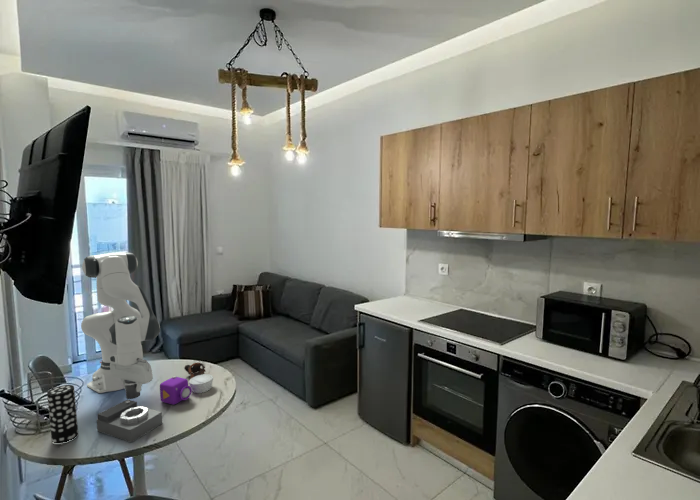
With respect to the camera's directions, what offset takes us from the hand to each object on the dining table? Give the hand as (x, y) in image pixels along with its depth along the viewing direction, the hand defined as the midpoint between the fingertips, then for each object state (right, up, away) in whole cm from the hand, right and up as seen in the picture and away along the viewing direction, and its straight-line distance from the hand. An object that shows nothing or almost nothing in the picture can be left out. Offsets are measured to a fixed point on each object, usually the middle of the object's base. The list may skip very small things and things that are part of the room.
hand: (132, 390), depth 151 cm
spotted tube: (-24, -18, -4) cm, 30 cm away
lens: (0, -3, 0) cm, 3 cm away
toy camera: (+7, -14, +25) cm, 30 cm away
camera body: (-3, -17, +3) cm, 17 cm away
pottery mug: (+4, -12, +51) cm, 53 cm away
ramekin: (+14, -13, +36) cm, 41 cm away
